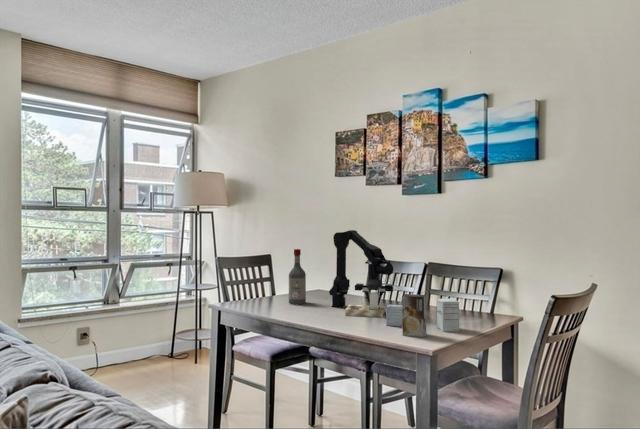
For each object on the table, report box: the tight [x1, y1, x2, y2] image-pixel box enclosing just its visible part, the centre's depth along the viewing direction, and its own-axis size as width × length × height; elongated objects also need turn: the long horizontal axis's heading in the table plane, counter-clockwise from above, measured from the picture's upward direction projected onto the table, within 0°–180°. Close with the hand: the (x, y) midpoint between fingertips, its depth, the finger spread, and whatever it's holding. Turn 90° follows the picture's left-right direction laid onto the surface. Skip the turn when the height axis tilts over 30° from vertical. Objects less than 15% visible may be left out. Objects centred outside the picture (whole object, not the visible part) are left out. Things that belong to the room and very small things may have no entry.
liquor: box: [288, 248, 307, 305], centre depth 267 cm, size 9×9×30 cm
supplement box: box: [436, 298, 460, 333], centre depth 204 cm, size 7×7×13 cm
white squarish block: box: [369, 291, 379, 309], centre depth 237 cm, size 4×4×8 cm
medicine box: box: [385, 304, 402, 327], centre depth 212 cm, size 8×4×9 cm, turn 71°
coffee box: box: [401, 293, 428, 338], centre depth 195 cm, size 9×6×16 cm
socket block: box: [344, 304, 385, 318], centre depth 238 cm, size 18×13×3 cm
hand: (374, 304), depth 237 cm, fingers closed on white squarish block, 4 cm apart
